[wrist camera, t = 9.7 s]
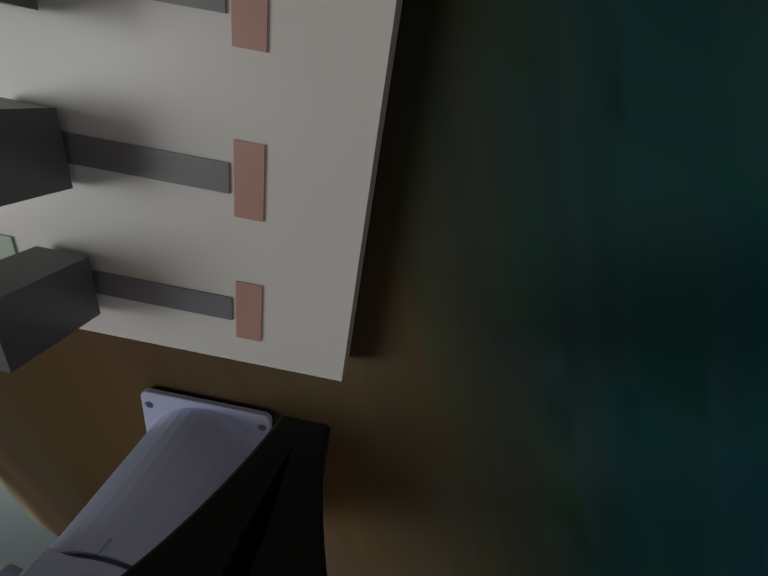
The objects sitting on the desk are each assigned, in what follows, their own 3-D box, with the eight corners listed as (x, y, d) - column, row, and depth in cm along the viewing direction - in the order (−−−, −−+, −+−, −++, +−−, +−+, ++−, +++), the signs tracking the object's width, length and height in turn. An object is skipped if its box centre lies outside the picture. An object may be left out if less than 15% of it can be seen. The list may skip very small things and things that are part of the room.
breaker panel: (348, 357, 21) (341, 382, 19) (-40, 279, 21) (-84, 297, 20) (414, -76, 13) (411, -107, 11) (-216, -186, 13) (-323, -233, 11)
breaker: (100, 313, 18) (11, 372, 14) (52, 304, 18) (-51, 360, 14) (88, 256, 17) (-14, 303, 13) (36, 245, 17) (-82, 290, 13)
